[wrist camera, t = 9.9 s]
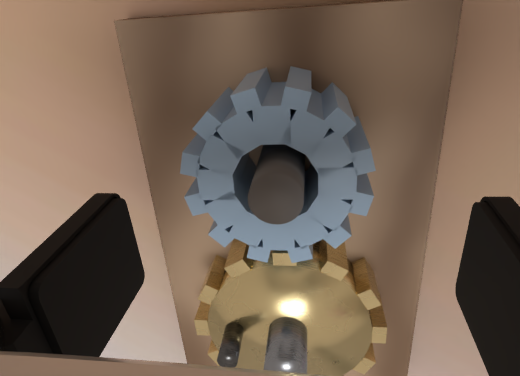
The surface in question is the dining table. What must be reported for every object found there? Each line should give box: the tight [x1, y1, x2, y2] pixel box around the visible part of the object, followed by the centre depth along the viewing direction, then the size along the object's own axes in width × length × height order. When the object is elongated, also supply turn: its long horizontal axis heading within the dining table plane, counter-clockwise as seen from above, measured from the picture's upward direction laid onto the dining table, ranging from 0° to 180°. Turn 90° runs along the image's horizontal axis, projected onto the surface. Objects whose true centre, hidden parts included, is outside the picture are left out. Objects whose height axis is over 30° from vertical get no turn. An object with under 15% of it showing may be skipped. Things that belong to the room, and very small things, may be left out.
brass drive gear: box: [194, 238, 387, 376], centre depth 20 cm, size 10×10×5 cm
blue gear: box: [180, 66, 376, 263], centre depth 16 cm, size 7×7×4 cm
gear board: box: [114, 0, 463, 376], centre depth 19 cm, size 14×22×6 cm, turn 4°
